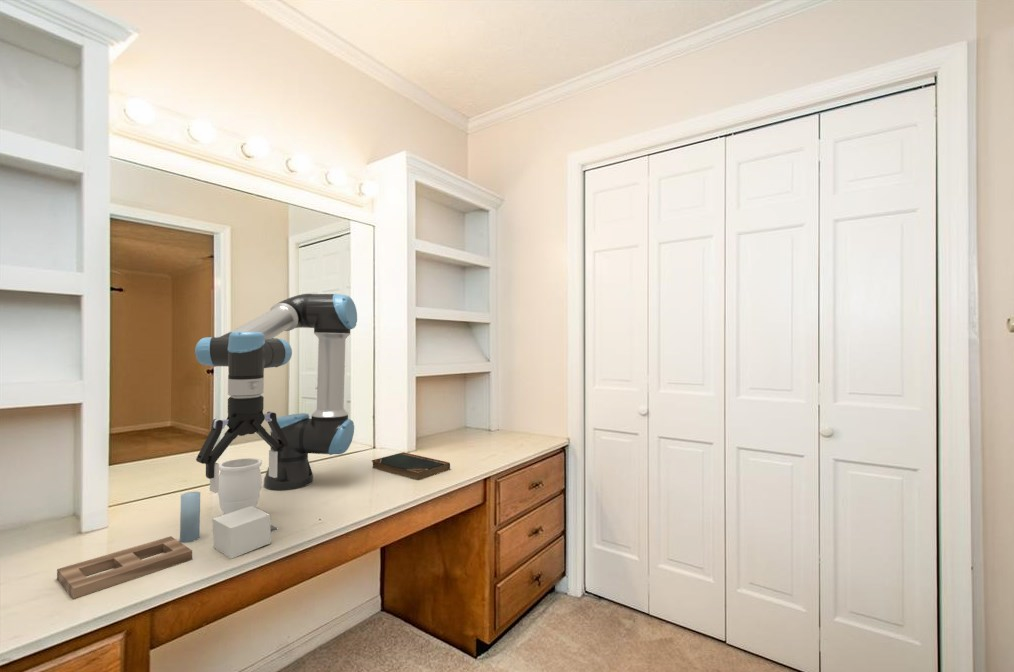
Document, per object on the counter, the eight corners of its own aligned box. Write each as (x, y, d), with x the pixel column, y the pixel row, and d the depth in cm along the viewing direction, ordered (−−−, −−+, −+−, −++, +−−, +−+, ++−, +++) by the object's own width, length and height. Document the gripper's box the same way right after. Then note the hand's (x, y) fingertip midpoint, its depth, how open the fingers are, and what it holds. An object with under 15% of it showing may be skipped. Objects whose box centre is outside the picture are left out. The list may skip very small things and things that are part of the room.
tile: (241, 530, 120) (241, 526, 120) (265, 523, 125) (265, 519, 125) (253, 537, 117) (253, 532, 117) (276, 529, 122) (276, 525, 122)
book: (370, 469, 179) (417, 482, 165) (370, 460, 179) (417, 471, 165) (404, 460, 193) (450, 471, 179) (404, 451, 193) (450, 461, 179)
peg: (177, 539, 115) (178, 494, 115) (195, 534, 118) (196, 490, 118) (183, 543, 112) (184, 498, 112) (202, 538, 116) (203, 493, 115)
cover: (213, 547, 111) (212, 518, 110) (252, 533, 118) (251, 505, 118) (231, 558, 106) (230, 528, 105) (270, 542, 113) (270, 514, 113)
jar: (251, 506, 137) (252, 455, 137) (267, 516, 130) (268, 462, 130) (210, 517, 129) (212, 463, 129) (225, 527, 122) (226, 470, 122)
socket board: (57, 578, 95) (57, 569, 95) (170, 544, 112) (171, 536, 112) (73, 599, 88) (73, 588, 88) (192, 559, 105) (192, 550, 105)
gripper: (194, 403, 99) (193, 502, 100) (303, 392, 120) (302, 474, 120) (179, 400, 104) (178, 494, 104) (287, 389, 124) (286, 468, 125)
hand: (245, 483), depth 112 cm, fingers open, 13 cm apart
